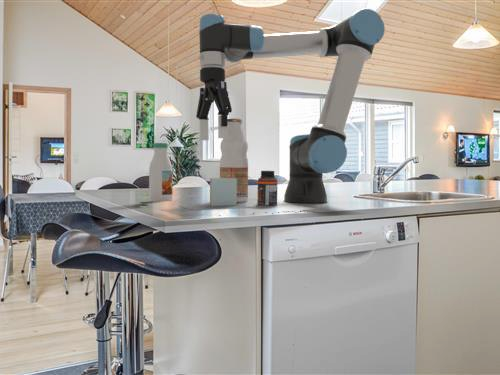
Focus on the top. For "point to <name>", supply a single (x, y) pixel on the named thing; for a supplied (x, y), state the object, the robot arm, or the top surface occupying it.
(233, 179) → the tile
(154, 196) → the milk bottle
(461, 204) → the top surface
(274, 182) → the supplement bottle
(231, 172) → the fruit juice
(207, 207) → the mat
